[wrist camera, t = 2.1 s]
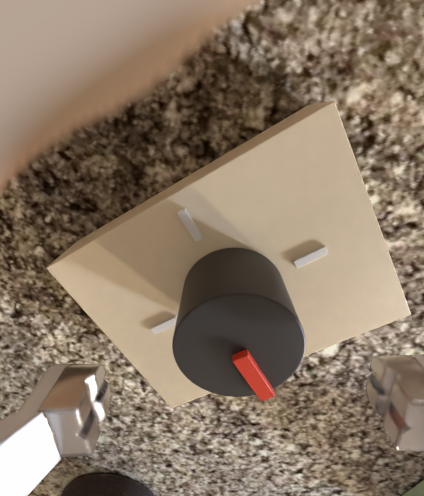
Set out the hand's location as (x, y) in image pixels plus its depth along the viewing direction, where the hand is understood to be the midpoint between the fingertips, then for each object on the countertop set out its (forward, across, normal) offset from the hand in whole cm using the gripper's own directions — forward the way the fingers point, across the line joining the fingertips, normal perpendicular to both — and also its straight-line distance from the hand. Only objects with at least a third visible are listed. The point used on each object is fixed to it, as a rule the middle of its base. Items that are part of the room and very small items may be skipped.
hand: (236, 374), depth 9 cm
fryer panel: (+7, 0, 0) cm, 7 cm away
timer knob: (+4, 0, 0) cm, 4 cm away
